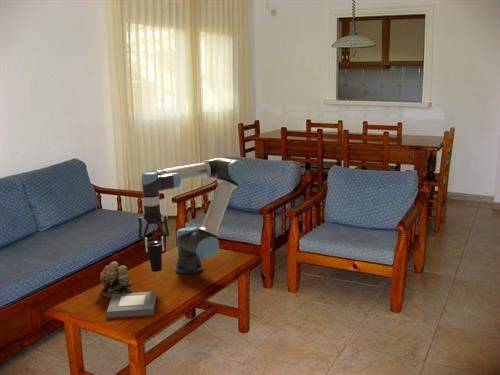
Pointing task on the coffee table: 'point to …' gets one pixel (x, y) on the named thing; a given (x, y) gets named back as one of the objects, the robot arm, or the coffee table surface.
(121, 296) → the base
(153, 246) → the drinking cup
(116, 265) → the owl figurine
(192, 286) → the coffee table surface
